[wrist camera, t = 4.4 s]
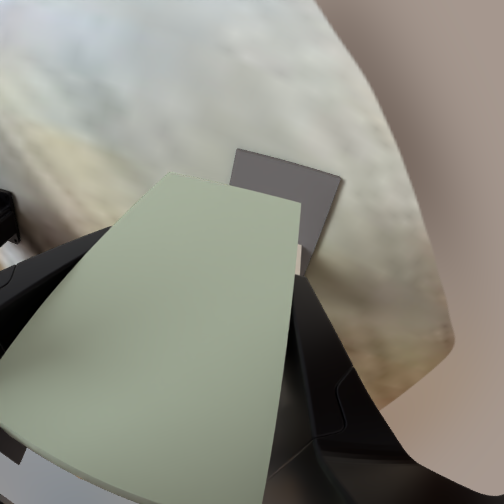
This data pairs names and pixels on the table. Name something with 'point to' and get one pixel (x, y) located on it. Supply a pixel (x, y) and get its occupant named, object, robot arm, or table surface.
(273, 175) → the mat
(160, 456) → the domino
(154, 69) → the table surface
